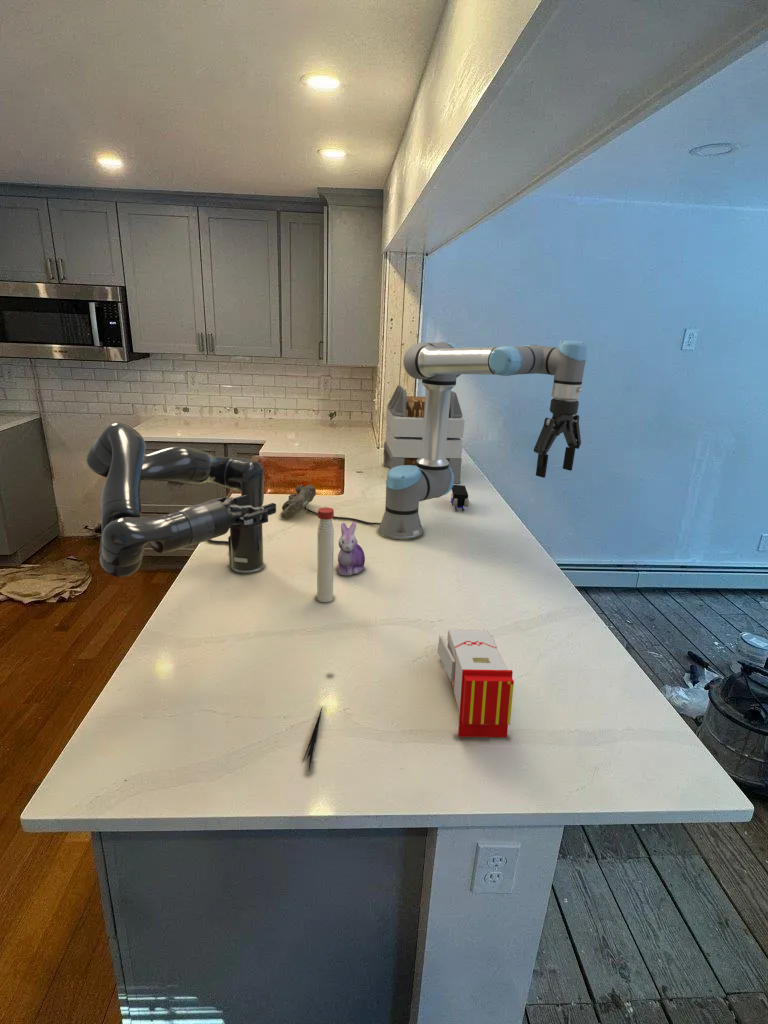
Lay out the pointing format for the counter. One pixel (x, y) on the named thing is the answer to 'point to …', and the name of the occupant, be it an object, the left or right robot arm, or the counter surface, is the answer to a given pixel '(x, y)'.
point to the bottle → (325, 560)
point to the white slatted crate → (419, 431)
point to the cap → (325, 513)
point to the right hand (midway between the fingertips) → (554, 473)
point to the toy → (478, 682)
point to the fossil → (298, 501)
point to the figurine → (350, 552)
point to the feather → (313, 740)
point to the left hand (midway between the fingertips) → (261, 503)
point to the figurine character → (459, 497)
